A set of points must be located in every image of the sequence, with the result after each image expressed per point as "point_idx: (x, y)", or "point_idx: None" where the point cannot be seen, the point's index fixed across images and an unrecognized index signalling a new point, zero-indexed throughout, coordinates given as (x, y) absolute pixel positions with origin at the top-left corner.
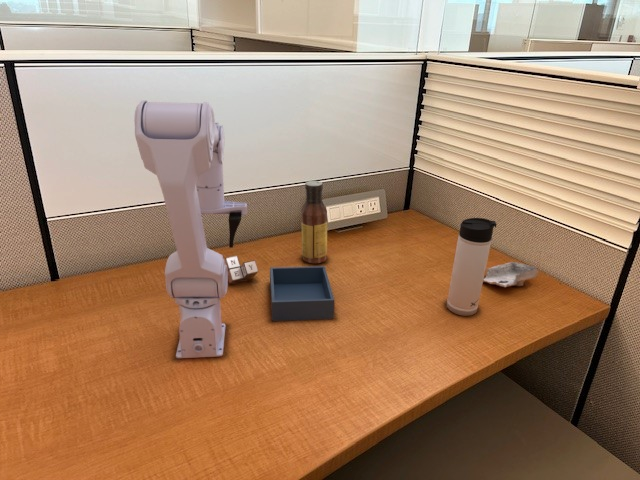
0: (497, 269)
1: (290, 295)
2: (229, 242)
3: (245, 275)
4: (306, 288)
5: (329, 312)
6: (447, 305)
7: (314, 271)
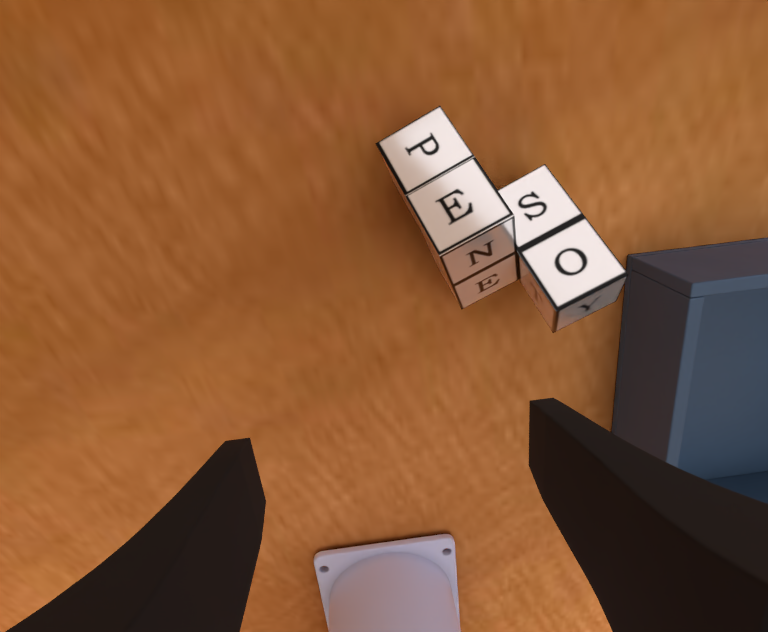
0: None
1: (704, 352)
2: (551, 511)
3: (537, 307)
4: None
5: None
6: None
7: None
